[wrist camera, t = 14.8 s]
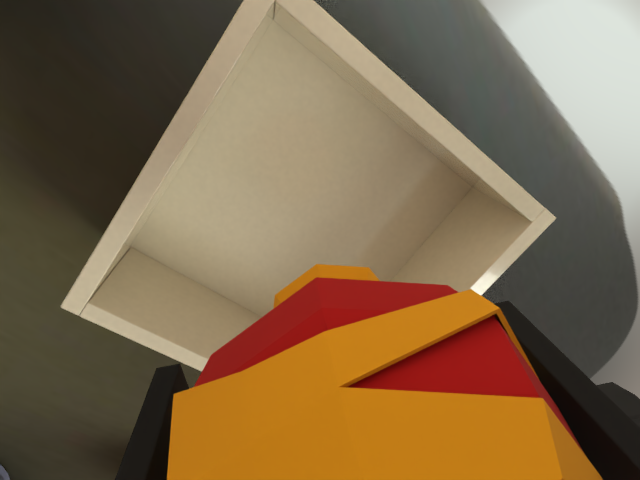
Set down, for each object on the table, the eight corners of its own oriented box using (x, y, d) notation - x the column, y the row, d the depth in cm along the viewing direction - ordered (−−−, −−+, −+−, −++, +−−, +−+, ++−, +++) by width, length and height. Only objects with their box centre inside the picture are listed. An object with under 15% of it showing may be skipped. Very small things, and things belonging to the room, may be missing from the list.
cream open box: (483, 180, 29) (556, 218, 21) (328, 357, 34) (344, 436, 26) (268, -6, 22) (267, -42, 15) (115, 244, 27) (59, 307, 20)
